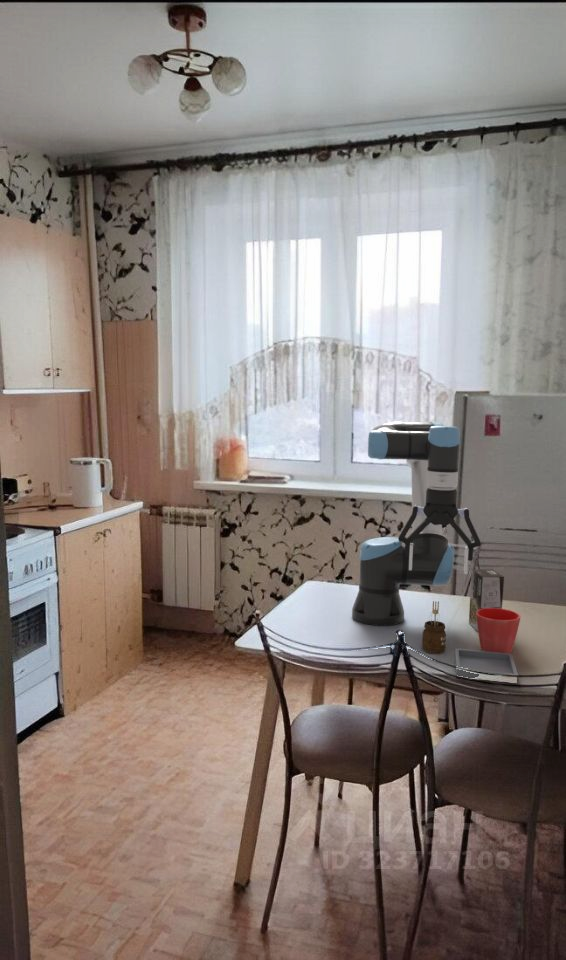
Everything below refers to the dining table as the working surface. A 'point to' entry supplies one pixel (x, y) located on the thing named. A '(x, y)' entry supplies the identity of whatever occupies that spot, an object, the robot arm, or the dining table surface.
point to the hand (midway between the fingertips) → (437, 571)
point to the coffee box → (485, 592)
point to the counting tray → (484, 662)
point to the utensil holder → (434, 635)
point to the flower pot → (497, 629)
